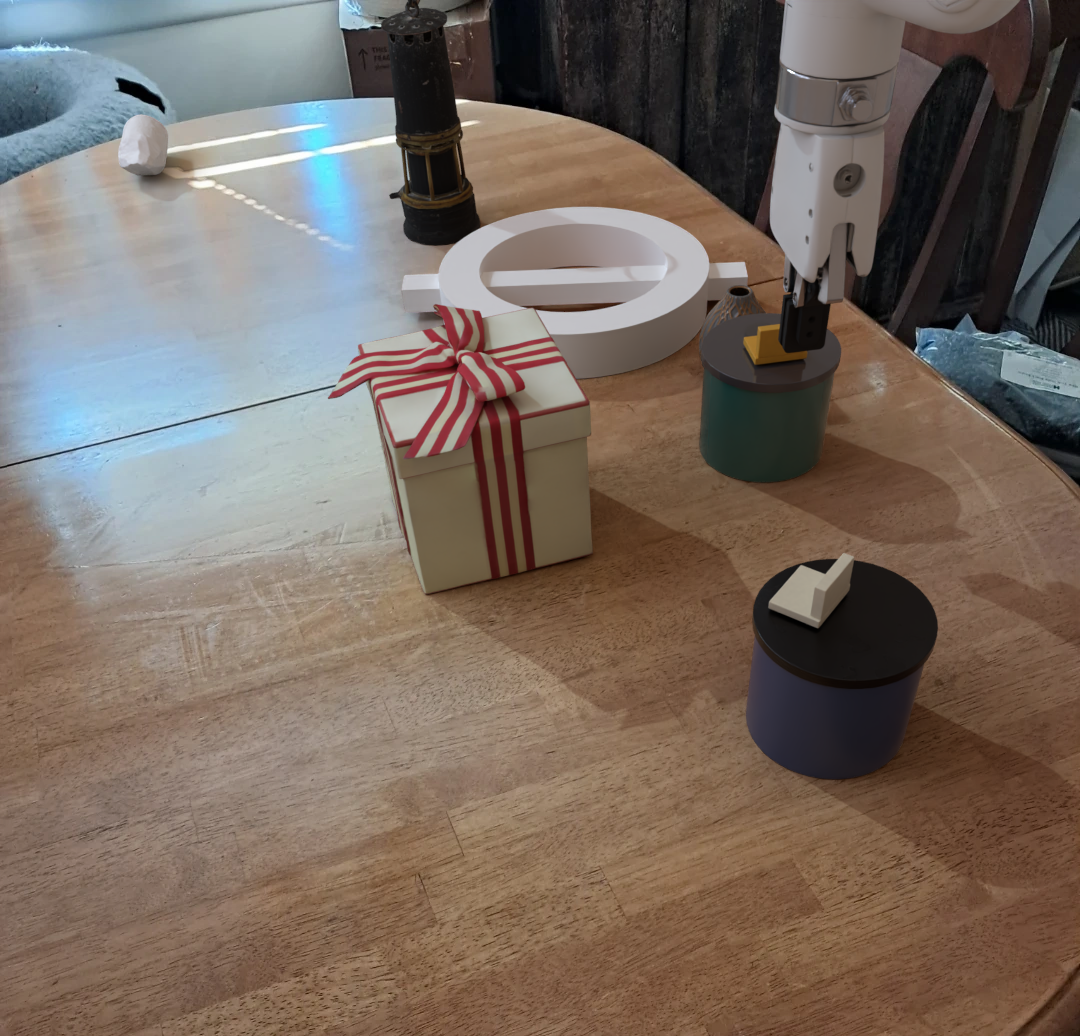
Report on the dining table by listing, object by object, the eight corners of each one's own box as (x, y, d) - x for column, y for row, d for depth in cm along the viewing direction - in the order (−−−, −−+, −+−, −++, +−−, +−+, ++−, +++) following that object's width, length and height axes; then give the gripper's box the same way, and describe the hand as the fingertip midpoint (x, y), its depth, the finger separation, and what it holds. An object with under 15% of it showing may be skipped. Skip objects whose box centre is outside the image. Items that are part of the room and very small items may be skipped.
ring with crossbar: (390, 315, 124) (383, 272, 120) (574, 226, 136) (573, 185, 133) (574, 411, 109) (572, 366, 106) (761, 301, 122) (765, 258, 118)
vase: (688, 363, 114) (693, 278, 108) (756, 353, 115) (764, 268, 108) (708, 400, 109) (713, 314, 103) (778, 389, 110) (788, 303, 104)
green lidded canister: (843, 475, 100) (861, 373, 93) (714, 492, 100) (721, 391, 92) (803, 403, 108) (816, 304, 101) (682, 419, 107) (686, 321, 100)
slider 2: (849, 590, 75) (856, 554, 73) (818, 629, 73) (824, 593, 71) (799, 571, 77) (805, 535, 75) (767, 608, 74) (772, 572, 72)
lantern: (388, 229, 138) (344, -65, 116) (447, 204, 142) (415, -85, 120) (435, 252, 133) (399, -50, 111) (495, 226, 137) (471, -71, 115)
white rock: (123, 194, 149) (109, 149, 145) (129, 158, 157) (116, 115, 153) (170, 189, 150) (157, 144, 146) (173, 153, 158) (161, 109, 154)
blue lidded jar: (936, 702, 82) (967, 597, 74) (864, 809, 76) (890, 706, 68) (789, 641, 87) (805, 536, 79) (710, 736, 81) (719, 633, 73)
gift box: (344, 507, 101) (304, 324, 88) (540, 454, 105) (528, 272, 92) (398, 627, 90) (361, 439, 77) (614, 564, 94) (613, 374, 81)
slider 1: (806, 358, 95) (811, 324, 93) (754, 365, 95) (758, 331, 92) (793, 337, 97) (797, 303, 95) (742, 343, 97) (745, 310, 95)
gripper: (933, 126, 71) (881, 391, 84) (851, 46, 81) (817, 294, 94) (814, 140, 70) (781, 404, 84) (747, 57, 80) (728, 305, 94)
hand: (800, 345), depth 89 cm, fingers closed
